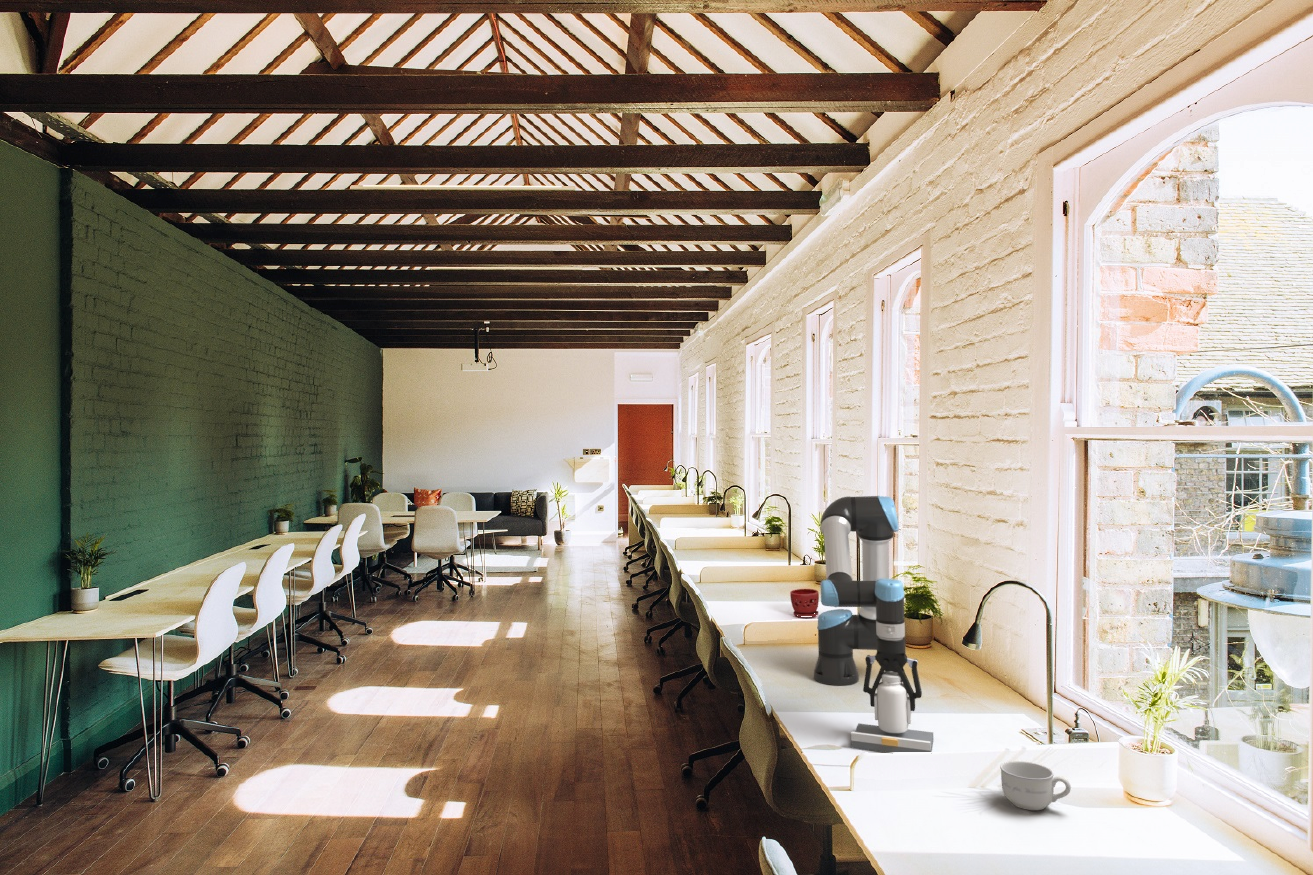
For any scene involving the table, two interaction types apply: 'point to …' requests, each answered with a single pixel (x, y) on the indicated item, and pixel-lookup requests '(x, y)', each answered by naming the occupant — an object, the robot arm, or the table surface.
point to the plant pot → (805, 602)
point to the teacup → (1030, 784)
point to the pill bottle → (892, 703)
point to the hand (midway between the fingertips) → (893, 720)
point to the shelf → (890, 740)
